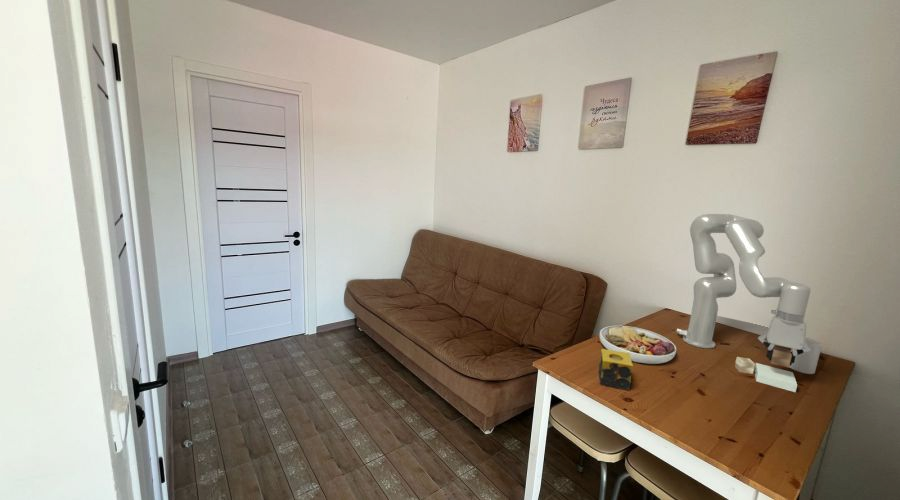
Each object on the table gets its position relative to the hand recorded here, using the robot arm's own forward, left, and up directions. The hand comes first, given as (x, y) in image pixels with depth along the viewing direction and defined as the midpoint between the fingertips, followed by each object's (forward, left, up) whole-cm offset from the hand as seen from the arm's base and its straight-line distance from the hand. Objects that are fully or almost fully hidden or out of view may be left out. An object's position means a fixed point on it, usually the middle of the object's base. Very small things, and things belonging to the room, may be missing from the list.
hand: (779, 361), depth 136 cm
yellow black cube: (-48, -42, -9) cm, 64 cm away
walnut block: (0, 0, -1) cm, 1 cm away
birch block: (-9, +2, -8) cm, 13 cm away
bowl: (-47, -8, -9) cm, 49 cm away
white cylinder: (+10, +20, -8) cm, 24 cm away
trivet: (0, 0, -8) cm, 8 cm away
